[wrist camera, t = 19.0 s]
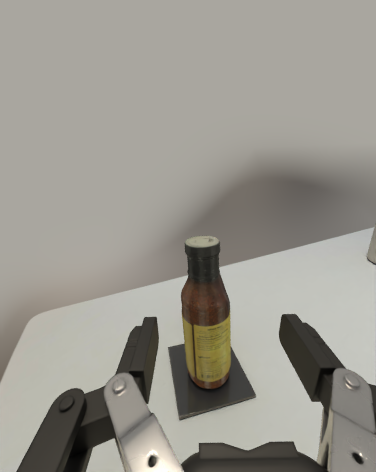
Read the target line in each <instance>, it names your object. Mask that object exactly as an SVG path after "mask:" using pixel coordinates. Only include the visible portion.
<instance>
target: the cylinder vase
mask: <svg viewBox="0 0 376 472" xmlns="http://www.w3.org/2000/svg"><path fill="white" fill-rule="evenodd" d="M367 257H368V259H369V260H370V261H371V262H373V263H375V264H376V224H375V228H374V232H373V235H372V239H371V243H370V246H369V250H368V254H367Z"/></svg>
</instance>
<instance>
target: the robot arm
mask: <svg viewBox="0 0 376 472" xmlns="http://www.w3.org/2000/svg"><path fill="white" fill-rule="evenodd" d="M279 339H280V342H281V345H282V346H283V348H284V350H285V352H286V354H287V356H288V358H289V360H290V361H291V363H292V365H293V367H294V369H295V371H296V373H297V374H298V376H299V378H300V380H301V382H302V384H303V386H304V388H305V389H306V391H307V393H308V395H309V397H310V399H311V401H312V402H320V401H321V403H322V405H323V407H324V408H323V412H322V422H321V433H320V443H319V452H318V457H317V462H316V461H314V460H313V459H311V458H310V457H308V456H306V455H304V454H302V453H300V452H297V450H296V447H295V445H294V442H269V443H266V444H264V445H261V446H259V447H257V448H254V449H252V450H249V451H247V450H243V449H240V448H237V447H234V446H231V445H227V444H224V443H199V452H198V453H195V454H193V455H192V456H190V457H189V458H187V459H186V460H185V461H184V462H183V463H182V464H181V465H180V463H179V461H178V459H177V457H176V455H175V453H174V451H173V449H172V447H171V445H170V443H169V441H168V439H167V437H166V435H165V433H164V431H163V429H162V427H161V425H160V424H159V422H158V420H157V418H156V416H155V415H154V413H151V412H150V410H149V409H148V406H147V404H148V402H149V396H150V391H151V385H152V379H153V373H154V367H155V361H156V356H157V350H158V342H159V335H158V325H157V317H145V318H144V320H143V324H142V326H136V327H135V328H134V329H133V330H132V331H131V333H130V335H129V338H128V342H127V343H126V346H125V349H124V352H123V355H122V357H121V360H120V363H119V366H118V369H117V371H116V374H115V376H113V377H112V378H111V379H110V380H109V381H108V382H107V384H106V385H105V386H104V387H102V388H100V389H97V390H94V391H91V392H88V393H86V394H84V392H83V391H82V390H81V389H78V388H74V389H70V390H67V391H65V392H64V393H62V394H61V395H60V396H59V397H58V398H57V399H56V400H55V401H54V402H53V404H52V405H51V407H50V409H49V411H48V413H47V415H46V417H45V418H44V420H43V422H42V424H41V426H40V428H39V430H38V432H37V434H36V436H35V437H34V439H33V441H32V443H31V445H30V447H29V449H28V451H27V453H26V454H25V456H24V458H23V460H22V462H21V464H20V466H19V468H18V470H17V471H16V472H86V469H87V466H88V462H89V459H90V456H91V452H92V449H93V447H95V446H97V445H99V444H101V443H104V442H106V441H108V440H111V439H113V438H115V442H116V445H117V448H118V451H119V454H120V458H121V461H122V464H123V467H124V471H125V472H376V386H375V385H371V384H368V383H367V382H366V381H365V380H364V379H363V378H362V377H361V376H359V375H358V374H356V373H355V372H353V371H351V370H348V369H346V368H345V367H344V366H343V364H342V363H341V362H340V361H339V359H338V358H337V357H336V356H335V354H334V353H333V352H332V351H331V349H330V348H329V347H328V345H327V344H325V342H324V340H323V339H322V338H321V337H320V335H319V334H318V333H317V332H316V330H315V329H314V328H312V327H311V326H310V325H308V324H307V323H302V321H301V320H300V319H299V317H298V316H297V315H296V314H283V315H282V317H281V323H280V330H279Z"/></svg>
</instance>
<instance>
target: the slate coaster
mask: <svg viewBox="0 0 376 472" xmlns="http://www.w3.org/2000/svg"><path fill="white" fill-rule="evenodd" d="M230 347H231V346H230ZM168 350H169V356H170V363H171V369H172V376H173V382H174V389H175V395H176V402H177V408H178V414H179V420H180V419H184V418H187V417H190V416H194V415H197V414H200V413H204V412H207V411H211V410H214V409H217V408H221V407H224V406H227V405H231V404H234V403H237V402H241V401H244V400H247V399H251V398H254V397H256V394H255V392H254V390H253V388H252V386H251V385H250V383H249V381H248V379H247V377H246V375H245V373H244V371H243V369H242V367H241V365H240V363H239V361H238V359H237V357H236V356H235V354H234V352H233V350H232V348H231V364H230V368H229V376H228V379H227V380H226V382H225V383H224V384H223V385H222V386H220V387H218V388H215V389H206V388H201V387H199V386H198V385H197V384H196V383H195V382H194V381H193V380H192V378H191V377H190V374H189V373H188V367H187V362H186V352H185V344H181V345H177V346H172V347H168Z"/></svg>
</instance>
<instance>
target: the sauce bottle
mask: <svg viewBox="0 0 376 472" xmlns="http://www.w3.org/2000/svg"><path fill="white" fill-rule="evenodd" d="M185 252H186V254H187V258H188V279H187V281H186V283H185V285H184V287H183V289H182V292H181V301H182V319H183V329H184V340H185V352H186V362H187V367H188V373H189V374H190V377H191V378H192V380H193V381H194V382H195V383H196V384H197V385H198V386H199V387H201V388H206V389H215V388H218V387H220V386H222V385H223V384H224V383H225V382H226V380H227V379H228V376H229V368H230V364H231V347H230V302H229V298H228V295H227V293H226V290H225V287H224V284H223V281H222V278H221V275H220V271H219V252H220V242H219V240H218V239H216V238H215V237H211V236H197V237H192V238H189V239H187V240H186V241H185Z"/></svg>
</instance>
